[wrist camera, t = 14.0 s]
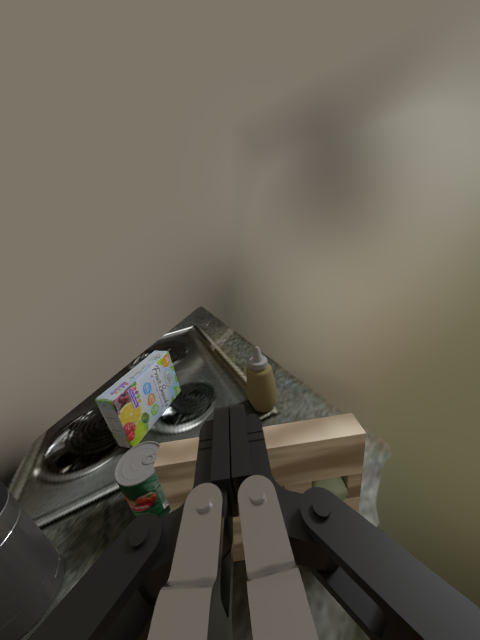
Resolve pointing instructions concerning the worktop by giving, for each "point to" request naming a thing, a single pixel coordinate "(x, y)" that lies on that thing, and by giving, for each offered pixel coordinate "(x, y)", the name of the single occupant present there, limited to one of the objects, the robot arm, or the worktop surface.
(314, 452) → the button panel
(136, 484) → the canned tomato
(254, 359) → the squeeze bottle
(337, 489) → the sage button
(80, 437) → the worktop surface
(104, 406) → the snack box
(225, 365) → the worktop surface
